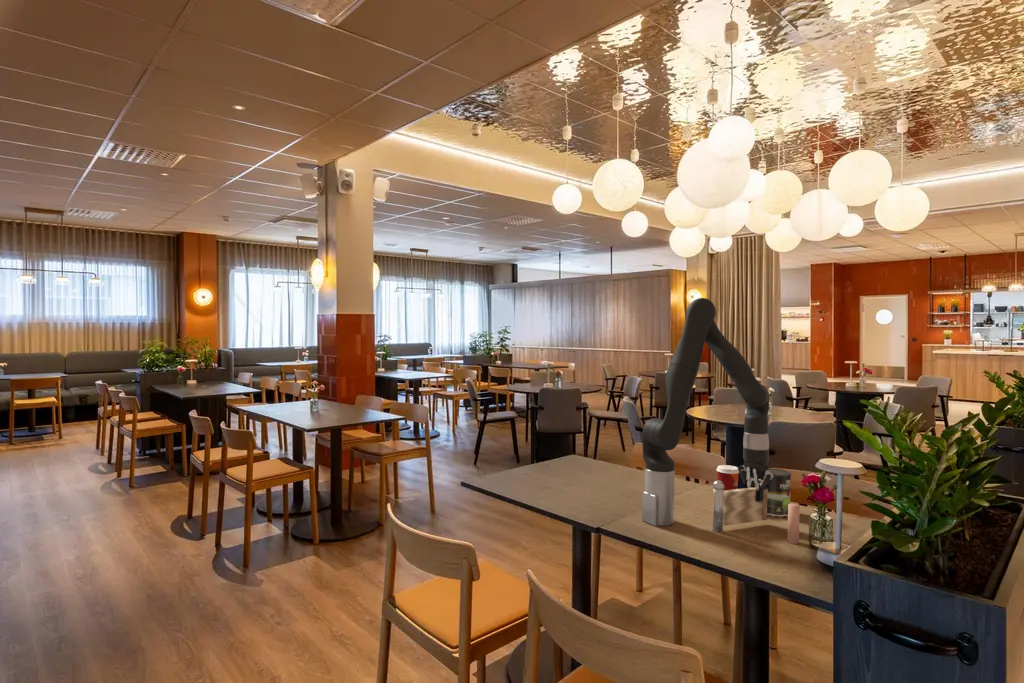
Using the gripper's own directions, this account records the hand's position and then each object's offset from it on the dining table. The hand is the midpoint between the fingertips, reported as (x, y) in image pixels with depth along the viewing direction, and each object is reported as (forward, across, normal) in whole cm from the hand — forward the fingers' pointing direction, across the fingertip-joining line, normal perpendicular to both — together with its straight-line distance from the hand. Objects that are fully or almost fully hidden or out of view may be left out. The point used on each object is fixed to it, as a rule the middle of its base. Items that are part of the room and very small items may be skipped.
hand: (755, 500), depth 179 cm
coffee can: (+8, +8, -16) cm, 20 cm away
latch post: (+8, -15, +1) cm, 17 cm away
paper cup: (+8, +18, -6) cm, 21 cm away
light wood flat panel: (+7, 0, +4) cm, 8 cm away
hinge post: (+8, +1, +15) cm, 17 cm away
